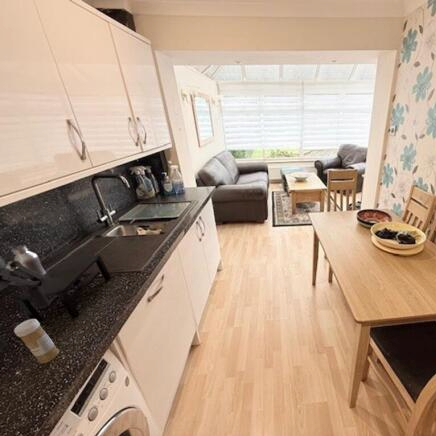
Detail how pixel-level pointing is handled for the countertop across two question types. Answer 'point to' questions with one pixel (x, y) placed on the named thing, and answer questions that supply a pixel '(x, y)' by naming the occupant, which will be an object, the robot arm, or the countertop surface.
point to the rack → (64, 284)
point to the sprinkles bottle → (37, 340)
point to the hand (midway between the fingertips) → (25, 324)
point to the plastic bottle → (28, 259)
